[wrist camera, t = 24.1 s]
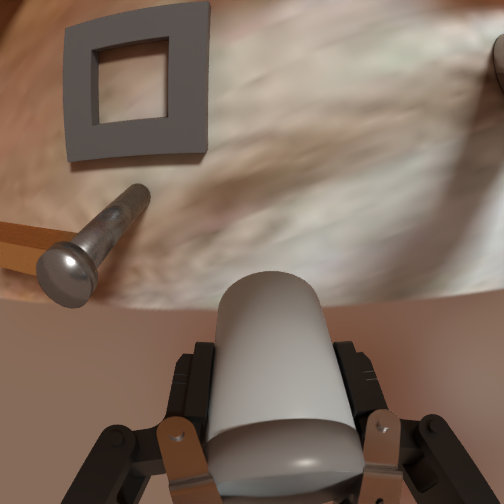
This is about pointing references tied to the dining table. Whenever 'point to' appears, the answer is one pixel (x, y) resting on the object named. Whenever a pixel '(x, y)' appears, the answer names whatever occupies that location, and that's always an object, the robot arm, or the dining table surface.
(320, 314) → the plug
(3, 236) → the gate
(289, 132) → the dining table surface
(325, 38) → the dining table surface
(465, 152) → the dining table surface
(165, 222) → the dining table surface
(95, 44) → the socket collar
